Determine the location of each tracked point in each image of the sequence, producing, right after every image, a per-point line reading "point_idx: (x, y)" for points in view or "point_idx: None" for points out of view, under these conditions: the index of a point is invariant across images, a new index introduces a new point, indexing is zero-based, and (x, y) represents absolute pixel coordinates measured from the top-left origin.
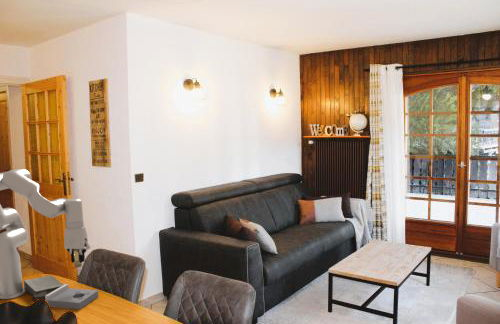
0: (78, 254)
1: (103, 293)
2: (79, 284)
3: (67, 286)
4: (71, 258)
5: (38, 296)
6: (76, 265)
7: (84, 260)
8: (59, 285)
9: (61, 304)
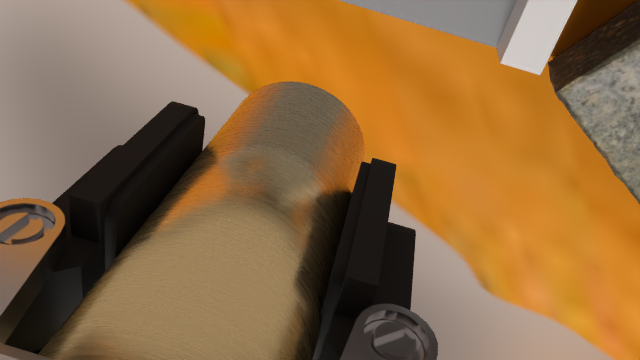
0: (133, 240)
1: (151, 3)
2: (454, 236)
3: (505, 40)
4: (385, 213)
5: None
6: (295, 98)
7: None
8: (620, 90)
9: None
